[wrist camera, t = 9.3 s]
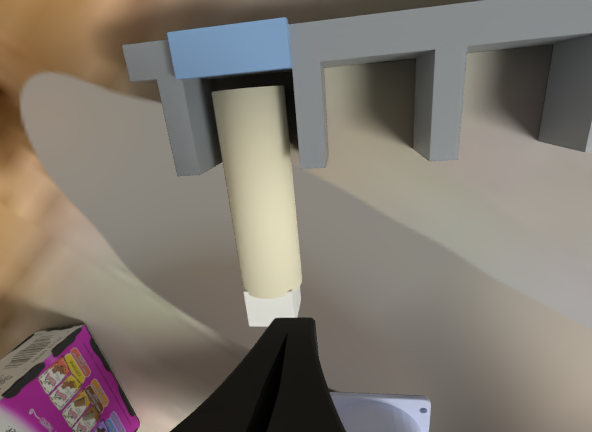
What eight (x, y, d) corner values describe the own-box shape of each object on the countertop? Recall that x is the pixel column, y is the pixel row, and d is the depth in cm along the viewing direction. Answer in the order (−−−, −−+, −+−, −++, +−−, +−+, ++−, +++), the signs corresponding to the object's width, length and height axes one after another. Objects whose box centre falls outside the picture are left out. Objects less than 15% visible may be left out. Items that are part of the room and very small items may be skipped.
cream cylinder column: (307, 295, 22) (301, 331, 19) (255, 295, 23) (240, 330, 19) (289, 86, 18) (277, 84, 14) (225, 92, 18) (199, 92, 15)
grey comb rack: (592, 137, 17) (667, 150, 13) (183, 163, 20) (146, 180, 16) (622, -4, 14) (723, -40, 11) (161, 51, 18) (111, 39, 14)
